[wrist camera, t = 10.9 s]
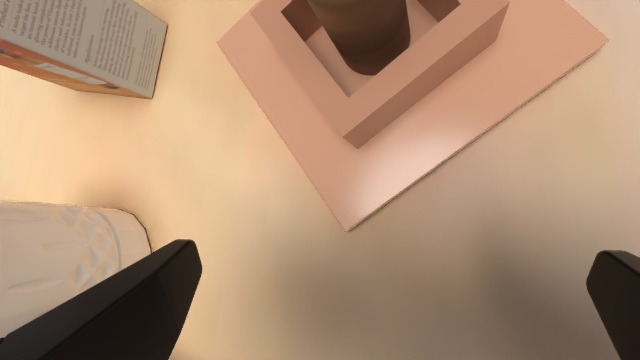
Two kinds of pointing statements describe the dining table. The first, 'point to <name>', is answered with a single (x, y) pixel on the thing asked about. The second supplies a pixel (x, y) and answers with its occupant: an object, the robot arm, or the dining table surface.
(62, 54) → the small box
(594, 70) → the dining table surface
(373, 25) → the thick brown pillar
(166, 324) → the robot arm
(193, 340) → the dining table surface
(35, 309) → the white cup
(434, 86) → the pink square stand base
